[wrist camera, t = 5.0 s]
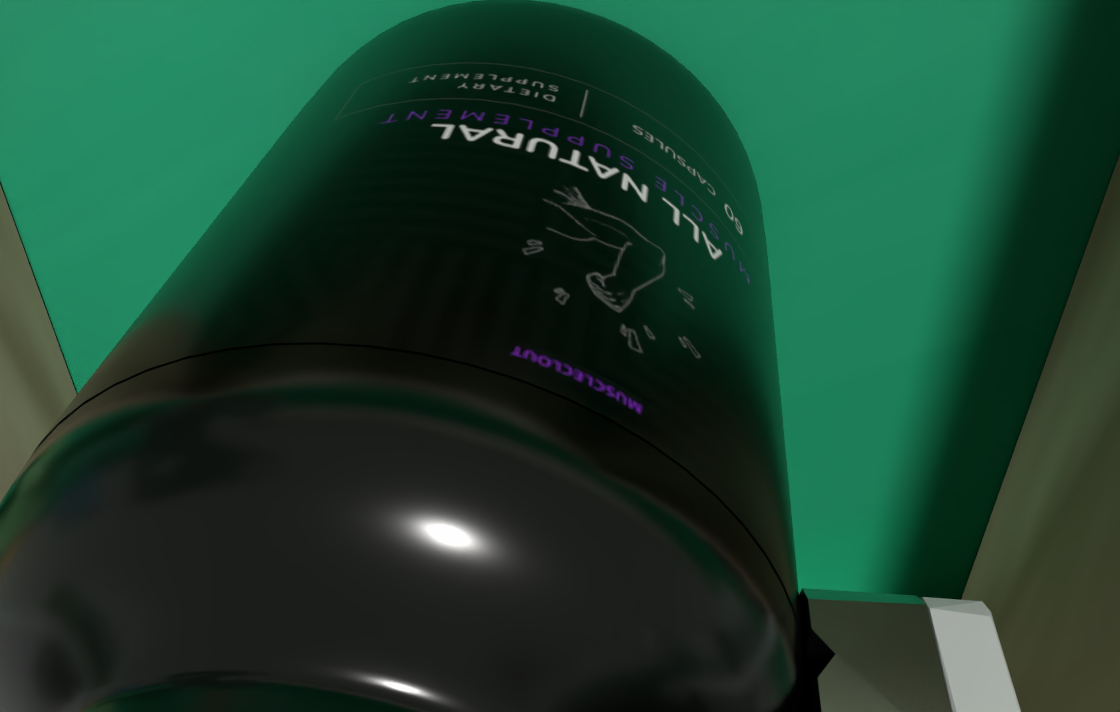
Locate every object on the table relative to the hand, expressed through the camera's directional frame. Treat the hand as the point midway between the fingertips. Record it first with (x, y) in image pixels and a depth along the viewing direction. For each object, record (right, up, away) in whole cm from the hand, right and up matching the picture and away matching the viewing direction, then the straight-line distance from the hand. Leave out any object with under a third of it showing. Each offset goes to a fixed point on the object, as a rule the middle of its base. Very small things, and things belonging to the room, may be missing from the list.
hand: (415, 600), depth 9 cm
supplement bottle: (+1, +4, +6) cm, 7 cm away
